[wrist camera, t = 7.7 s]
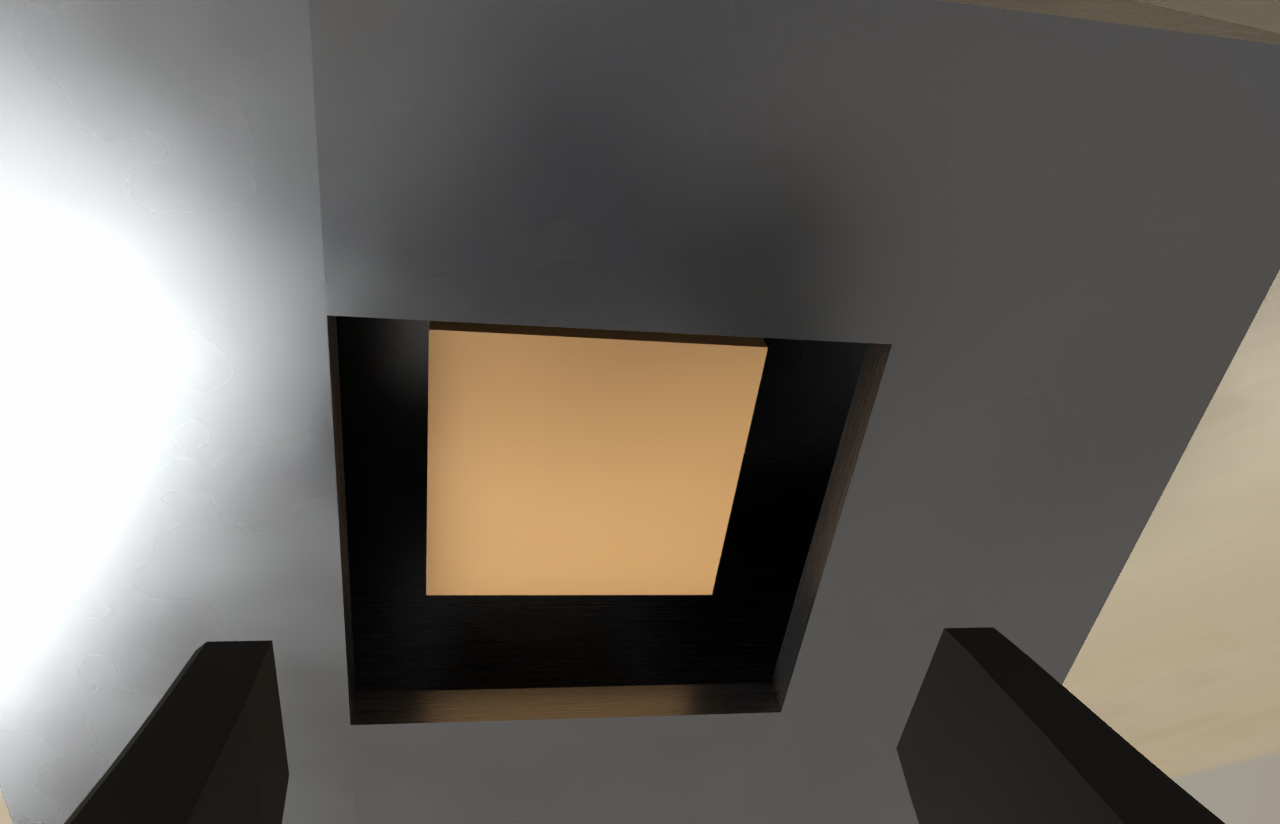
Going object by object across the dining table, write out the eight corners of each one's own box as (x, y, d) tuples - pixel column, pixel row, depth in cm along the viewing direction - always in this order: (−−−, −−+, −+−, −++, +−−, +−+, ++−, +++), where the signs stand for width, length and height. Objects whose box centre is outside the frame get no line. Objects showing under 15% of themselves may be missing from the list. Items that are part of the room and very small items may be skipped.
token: (707, 240, 16) (768, 347, 12) (670, 455, 18) (712, 594, 14) (443, 221, 15) (428, 329, 11) (438, 448, 17) (426, 595, 14)
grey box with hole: (1083, -11, 15) (1389, 58, 10) (867, 613, 22) (980, 840, 17) (4, -159, 12) (-357, -168, 7) (160, 619, 19) (41, 897, 14)
